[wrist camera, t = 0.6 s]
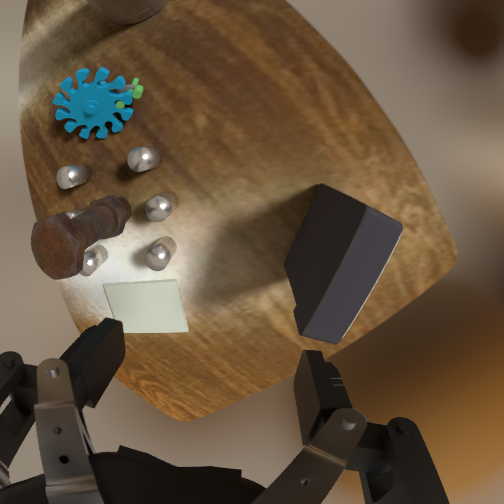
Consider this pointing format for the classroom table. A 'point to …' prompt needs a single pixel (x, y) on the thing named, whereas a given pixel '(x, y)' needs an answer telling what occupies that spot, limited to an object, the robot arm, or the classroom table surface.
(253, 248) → the classroom table surface
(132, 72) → the classroom table surface
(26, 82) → the classroom table surface
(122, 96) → the gear
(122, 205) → the bolt
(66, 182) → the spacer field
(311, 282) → the dark grey slab
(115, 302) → the plate
